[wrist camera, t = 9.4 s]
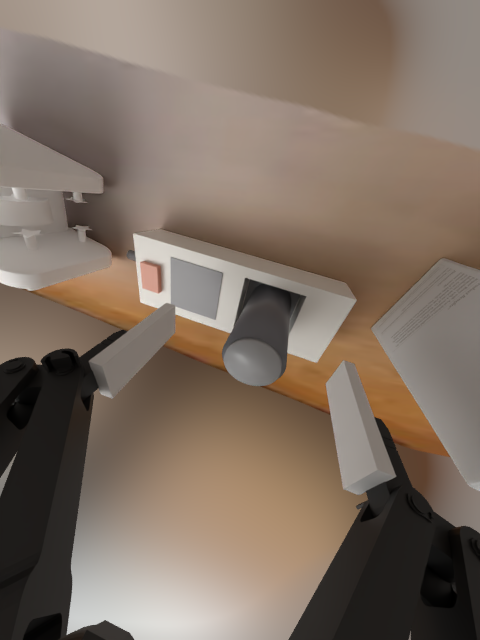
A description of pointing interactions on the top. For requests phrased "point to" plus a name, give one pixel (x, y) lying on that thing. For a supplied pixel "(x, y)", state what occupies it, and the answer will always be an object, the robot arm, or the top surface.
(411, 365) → the supplement box
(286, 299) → the plug
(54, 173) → the cable organizer
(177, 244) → the power strip
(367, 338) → the top surface
